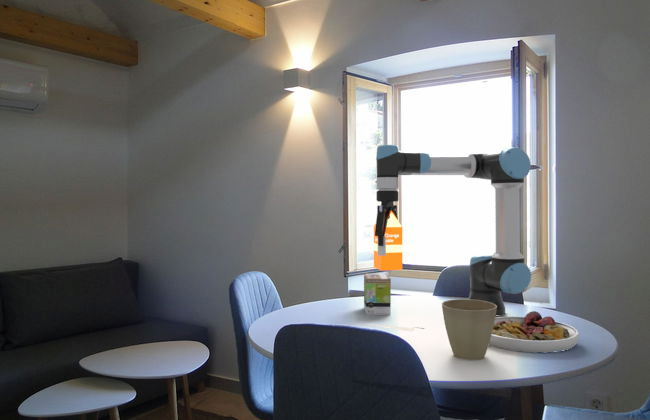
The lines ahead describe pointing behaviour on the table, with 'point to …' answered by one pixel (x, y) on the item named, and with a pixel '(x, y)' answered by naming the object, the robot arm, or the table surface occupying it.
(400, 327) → the picture frame
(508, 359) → the table surface
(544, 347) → the plate of food
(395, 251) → the orange juice
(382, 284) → the tea box
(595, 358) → the table surface
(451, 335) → the plant pot
